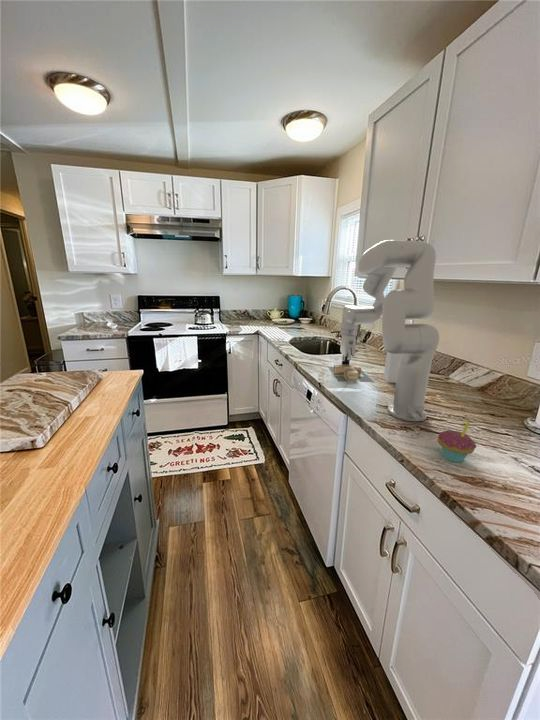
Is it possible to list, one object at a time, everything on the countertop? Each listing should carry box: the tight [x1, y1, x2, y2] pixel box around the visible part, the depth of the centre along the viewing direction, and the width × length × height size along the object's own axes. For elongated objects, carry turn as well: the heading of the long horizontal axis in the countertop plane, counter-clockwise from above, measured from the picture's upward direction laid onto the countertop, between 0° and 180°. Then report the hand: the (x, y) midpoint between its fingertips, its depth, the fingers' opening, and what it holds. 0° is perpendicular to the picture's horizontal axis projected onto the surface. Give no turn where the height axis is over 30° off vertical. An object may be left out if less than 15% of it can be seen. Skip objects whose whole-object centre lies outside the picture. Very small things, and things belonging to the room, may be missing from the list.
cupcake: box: [436, 419, 477, 463], centre depth 78 cm, size 9×8×12 cm
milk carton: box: [383, 350, 404, 384], centre depth 133 cm, size 7×7×19 cm
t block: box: [332, 364, 362, 381], centre depth 138 cm, size 12×12×4 cm
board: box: [327, 366, 375, 383], centre depth 142 cm, size 22×16×1 cm
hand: (345, 368), depth 146 cm, fingers closed
